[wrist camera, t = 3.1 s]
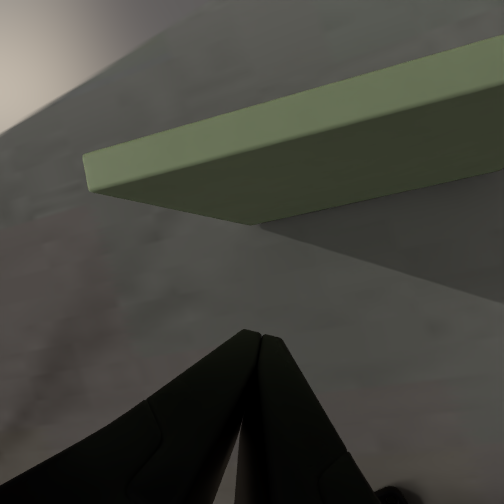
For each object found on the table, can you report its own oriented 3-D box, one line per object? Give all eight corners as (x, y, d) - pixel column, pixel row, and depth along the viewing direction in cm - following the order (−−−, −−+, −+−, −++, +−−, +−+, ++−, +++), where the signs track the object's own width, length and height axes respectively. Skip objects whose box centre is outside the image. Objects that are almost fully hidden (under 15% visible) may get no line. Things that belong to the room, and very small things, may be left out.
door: (496, 151, 19) (751, -39, 6) (500, 170, 19) (764, 16, 6) (245, 209, 22) (79, 153, 9) (249, 225, 22) (86, 192, 9)
